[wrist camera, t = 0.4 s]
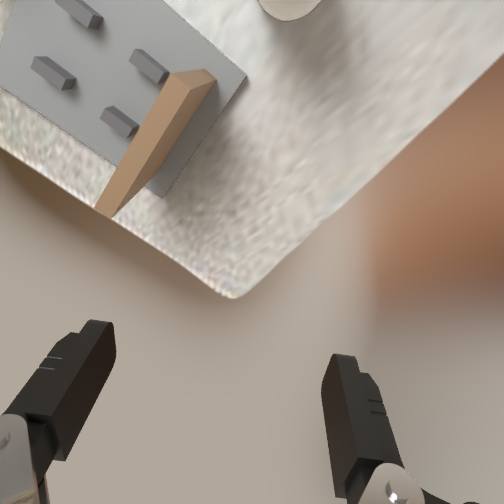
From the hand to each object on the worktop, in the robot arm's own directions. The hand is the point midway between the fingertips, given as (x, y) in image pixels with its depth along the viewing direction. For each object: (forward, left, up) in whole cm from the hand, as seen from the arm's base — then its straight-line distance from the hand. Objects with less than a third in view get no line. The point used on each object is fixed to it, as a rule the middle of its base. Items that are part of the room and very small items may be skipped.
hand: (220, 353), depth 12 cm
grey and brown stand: (-8, -15, -29) cm, 33 cm away
